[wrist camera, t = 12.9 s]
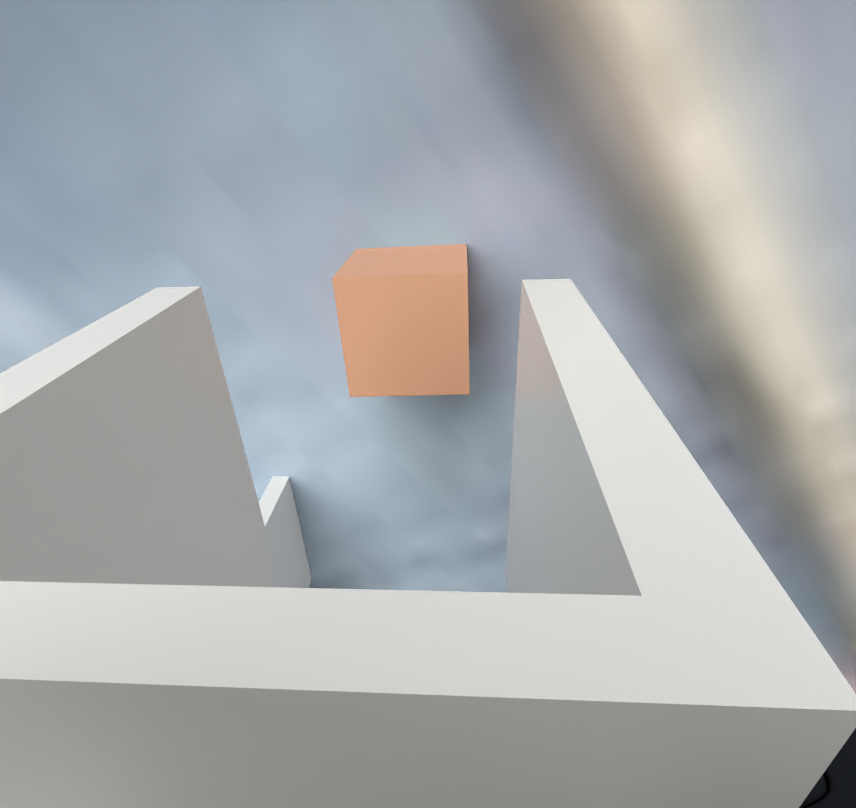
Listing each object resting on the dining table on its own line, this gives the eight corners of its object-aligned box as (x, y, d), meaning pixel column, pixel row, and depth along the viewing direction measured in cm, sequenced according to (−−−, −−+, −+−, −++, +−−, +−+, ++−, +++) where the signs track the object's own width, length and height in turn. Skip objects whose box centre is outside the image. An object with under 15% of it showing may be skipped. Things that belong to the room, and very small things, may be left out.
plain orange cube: (468, 348, 20) (469, 396, 16) (369, 350, 20) (350, 398, 17) (466, 243, 18) (467, 273, 14) (356, 248, 18) (332, 278, 15)
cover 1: (311, 579, 27) (268, 711, 21) (184, 576, 28) (106, 705, 21) (289, 476, 24) (229, 600, 17) (143, 475, 24) (36, 595, 18)
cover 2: (539, 572, 12) (622, 1054, 6) (244, 566, 12) (30, 1004, 6) (570, 279, 8) (865, 709, 2) (157, 287, 9) (-524, 659, 3)
